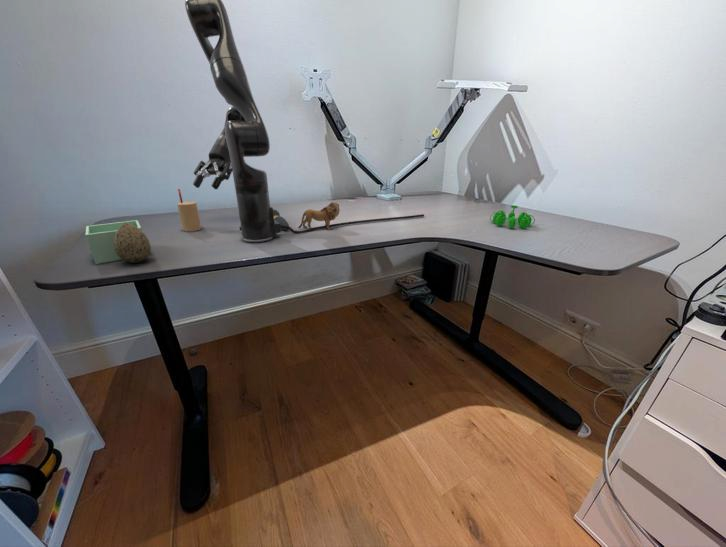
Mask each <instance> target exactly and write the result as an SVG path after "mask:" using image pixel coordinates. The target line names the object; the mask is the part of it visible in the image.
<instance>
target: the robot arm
mask: <svg viewBox="0 0 726 547" xmlns="http://www.w3.org/2000/svg"><path fill="white" fill-rule="evenodd" d="M184 6H185V12H186V14H187V17H188V18H187V19H188V21H189V24H190V26H191V28H192V30H193V32H194V35H195V37H196V38H197V39H196V40H197V41H198V43H199V45H200V47H201V49H202V51H203V54H204V56H205V57H206V60H207V61H208V63H209V69H210V72H211V75H212V79H213V83H214V85H215V88H216V90H217V91H218V93H219V94H220V95H221V96H222V98H223V99H224V100H225V102H226V103H227V105H230V106H231V107H229V108H228V109H227V111H226V114H225V120H224V127H223V128H222V131H221V132H220V134H219V135H218V137H217V138H216V140H215V142H214V143H213V146H212V147H211V149H210V151H209V152H208V160H207V161H206V162H205V161H203V160H200V162H199V163H198V165H197V166H196V167H195V169H194V171H193V174H194V175H195V179H194V181H193V182H192V183H193V184H192V185H193V186H194V187H195V188H198V189H199V188H201V185H202V183H203V181H204V180H205V179H206V178H209V177H211V176H215V178H214V179H213V181H212V183H211V187H212V188H213V189H214V190H218V189H219V188H220V185H221V184H222V182H224V181H225V180H226V181H228V180H229V179H230V177H231V175H232V178H233V184H234V190H235V197H236V203H237V204H236V205H237V210H238V218H239V223H240V226H238V228H239V231H241V236H242V237H241V239H242V241H243V242H247V243H265V242H269V241H271V240H273V239H277V234H279V233H282V229H281V228H286V229H288V230H289V231H290V232H291V233H293V234H305V233H309V232H312V231H316V230H322V229H323V230H324V229H327V225H326V226H325V225H321V226H315V227H311V228H310V229H309V228H307V229H303V230H295V229H293V228H292V227H291V226H290V225H289V226H284V225H280V223H279V222H277V221H276V220H274V214H273V209H274V208H273V207H272V206H271V201H270V193H269V184H268V183H269V182H268V175H267V172H266V171H265V170H263V169H260V168H257V167H254V166H251V165H250V164H248V163H247V162H246V160H245V158H252V157H253V158H255V157H256V158H257V157H265V156H267V155H268V154H269V153H270V147H271V146H270V145H271V144H270V138H269V133H268V130H267V127H266V125H265V122H264V120H263V118H262V116H261V113H260V111H259V109H258V106H257V104H256V102H255V98H254V95H253V93H252V90H251V86H250V83H249V79H248V76H247V72H246V70H245V67H244V63H243V62H242V58H241V56H240V53H239V51H238V48H237V44H236V41H235V37H234V34H233V29H232V25H231V22H230V18H229V14H228V11H227V9H226V6H225V4H224V2H223V0H184ZM212 37H213V38H214V37H218V40H217V43H216V45H215V46H214V47H213V45H212V43H211V42H210V41H211V40H210V39H209V38H212ZM422 217H425V214H424V213H423V214H422V213H421V214H414V215H404V216H394V217H384V218H381V217H380V218H371V219H363V220H362V219H361V220H354V221H353V220H352V221H346V222H339V223H332V224H331V223H330V225H329V227H330V228H333V227H341V226H347V225H355V224H363V223H372V222H373V223H374V222H383V221H394V220H404V219H414V218H415V219H416V218H422Z"/></svg>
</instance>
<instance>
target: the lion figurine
mask: <svg viewBox="0 0 726 547" xmlns="http://www.w3.org/2000/svg"><path fill="white" fill-rule="evenodd" d="M340 210H341V209H340V204H339V203H338V202H335V201H332V202H330V203H329V204H328V205H326V206H324V207H323V208H322V209H320V210H315V209H311V208H310V209H306V210H305V211H304V212H303V213H302V217H301V223H300V224H299V225H298V227H297V229H301V228H304V229H306V228H308V229H310V228H312V226H311V223H312V220H314V221H317V222H324V226H326V225H327V228H326V229H327V230H328V231H330V230H332V227H329V225H331V221H335V219H336V218H337V217H338V216H339V214H340ZM306 223H307V225H306Z"/></svg>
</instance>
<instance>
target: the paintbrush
mask: <svg viewBox="0 0 726 547" xmlns="http://www.w3.org/2000/svg"><path fill="white" fill-rule="evenodd" d="M273 214H274V220H276V221H277V222H279V223H280V225H284V226H289V227H290V225H289V223H288V221H287V220H286V218H284V216H283V217H282V216H281V214H280V212H279V210H277V209H274V208H273ZM281 230H284V231H288V230H289V229H286V228H281Z"/></svg>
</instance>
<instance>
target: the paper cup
mask: <svg viewBox="0 0 726 547" xmlns="http://www.w3.org/2000/svg"><path fill="white" fill-rule="evenodd" d="M177 192H178V196H179V201H180V202H178V203H177V209H178V210H177V211H178V213H179V218H180V222H181V227H182V231H183V232H186V233H187V232H197V231H200V230H202V224H201V218H200V214H199V210H198V205H197V201H183V198H182V192H181V189H180V188H178V189H177Z"/></svg>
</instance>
